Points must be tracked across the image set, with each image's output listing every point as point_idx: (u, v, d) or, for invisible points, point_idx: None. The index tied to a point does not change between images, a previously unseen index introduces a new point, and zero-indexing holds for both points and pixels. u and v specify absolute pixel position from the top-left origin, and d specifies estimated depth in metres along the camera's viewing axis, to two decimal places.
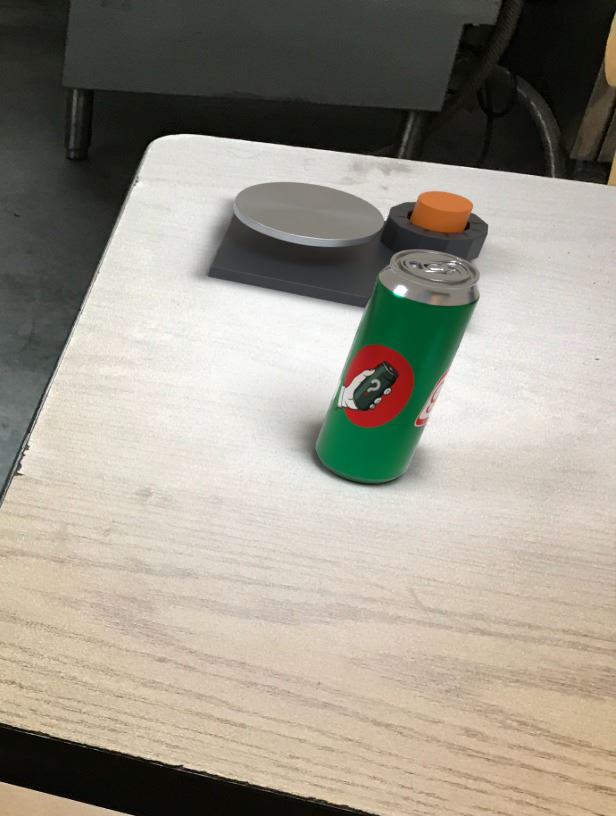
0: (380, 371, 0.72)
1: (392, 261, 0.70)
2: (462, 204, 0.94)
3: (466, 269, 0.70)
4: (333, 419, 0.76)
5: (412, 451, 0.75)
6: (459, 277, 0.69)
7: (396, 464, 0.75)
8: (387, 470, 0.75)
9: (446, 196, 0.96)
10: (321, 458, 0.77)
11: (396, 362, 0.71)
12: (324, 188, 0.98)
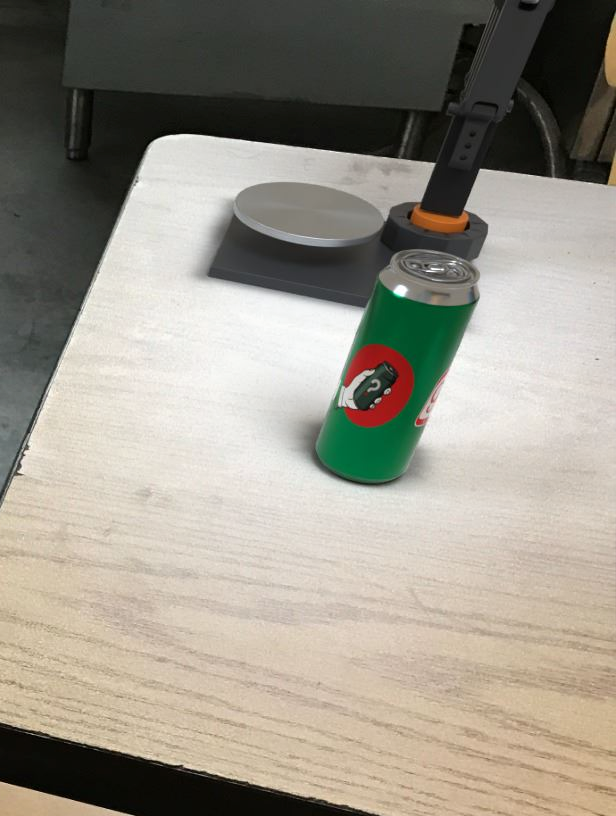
0: (380, 371, 0.72)
1: (392, 261, 0.70)
2: (457, 216, 0.95)
3: (467, 269, 0.70)
4: (333, 419, 0.76)
5: (412, 451, 0.75)
6: (459, 277, 0.69)
7: (396, 464, 0.75)
8: (387, 470, 0.75)
9: None
10: (321, 458, 0.77)
11: (396, 362, 0.71)
12: (324, 188, 0.98)
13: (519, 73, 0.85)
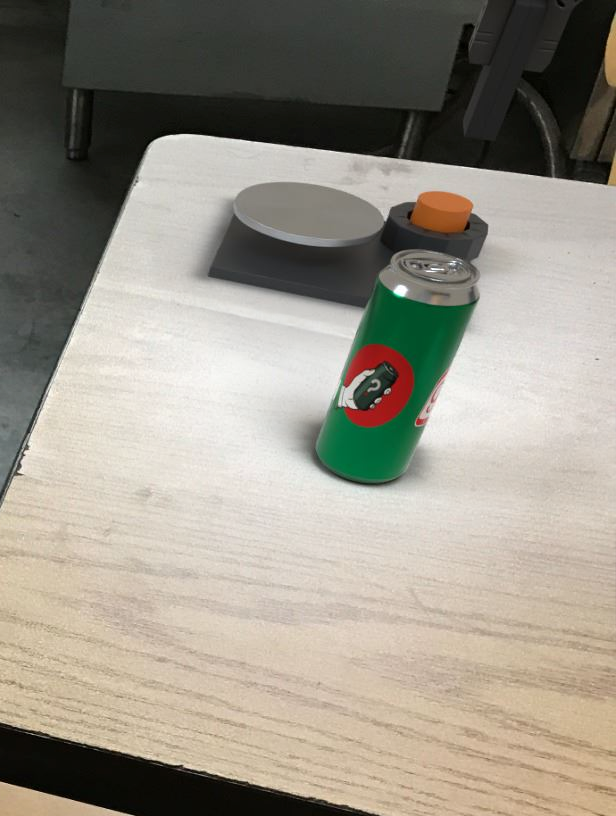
0: (380, 371, 0.72)
1: (392, 261, 0.70)
2: (462, 204, 0.94)
3: (467, 269, 0.70)
4: (333, 419, 0.76)
5: (412, 451, 0.75)
6: (459, 277, 0.69)
7: (396, 464, 0.75)
8: (387, 470, 0.75)
9: (446, 196, 0.96)
10: (321, 458, 0.77)
11: (397, 361, 0.71)
12: (324, 188, 0.98)
13: None
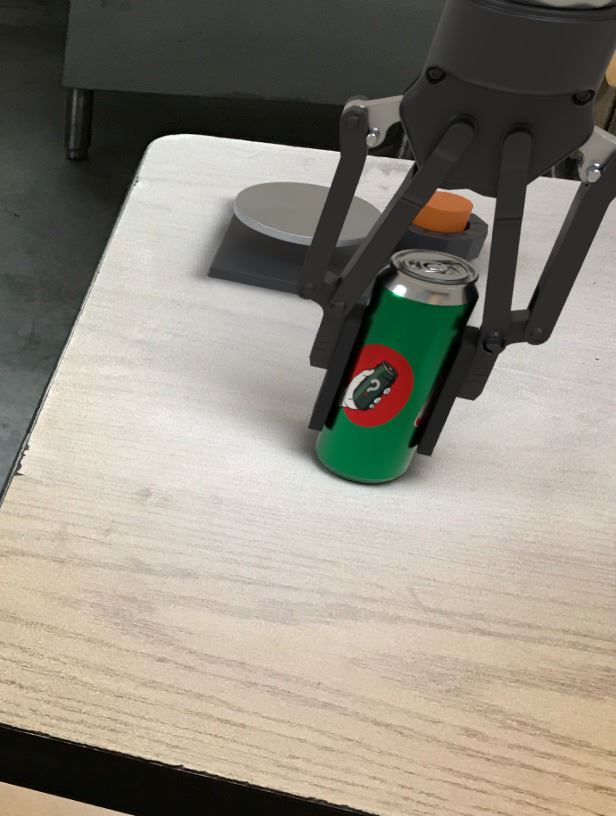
0: (380, 371, 0.72)
1: (391, 261, 0.70)
2: (462, 204, 0.94)
3: (466, 269, 0.70)
4: (332, 419, 0.76)
5: (412, 451, 0.75)
6: (458, 277, 0.69)
7: (396, 464, 0.75)
8: (387, 470, 0.75)
9: (446, 196, 0.96)
10: (321, 458, 0.77)
11: (396, 361, 0.71)
12: (324, 188, 0.98)
13: (314, 233, 0.71)
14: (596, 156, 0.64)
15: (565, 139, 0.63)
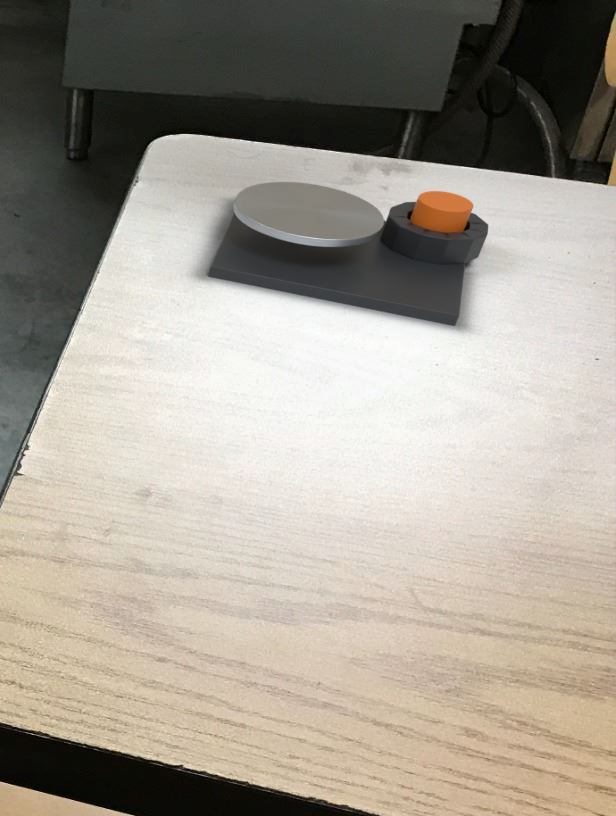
0: None
1: None
2: (462, 204, 0.94)
3: None
4: None
5: None
6: None
7: None
8: None
9: (446, 196, 0.96)
10: None
11: None
12: (324, 188, 0.98)
13: None
14: None
15: None
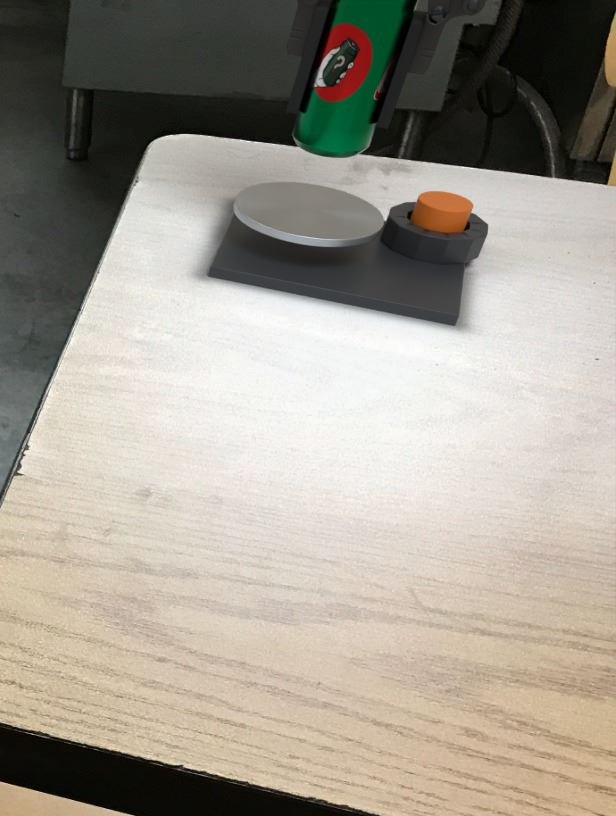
0: (344, 47, 0.86)
1: None
2: (462, 204, 0.94)
3: None
4: (306, 101, 0.90)
5: (372, 126, 0.90)
6: None
7: (359, 137, 0.90)
8: (351, 142, 0.90)
9: (446, 196, 0.96)
10: (297, 139, 0.92)
11: (357, 37, 0.86)
12: (324, 188, 0.98)
13: None
14: None
15: None
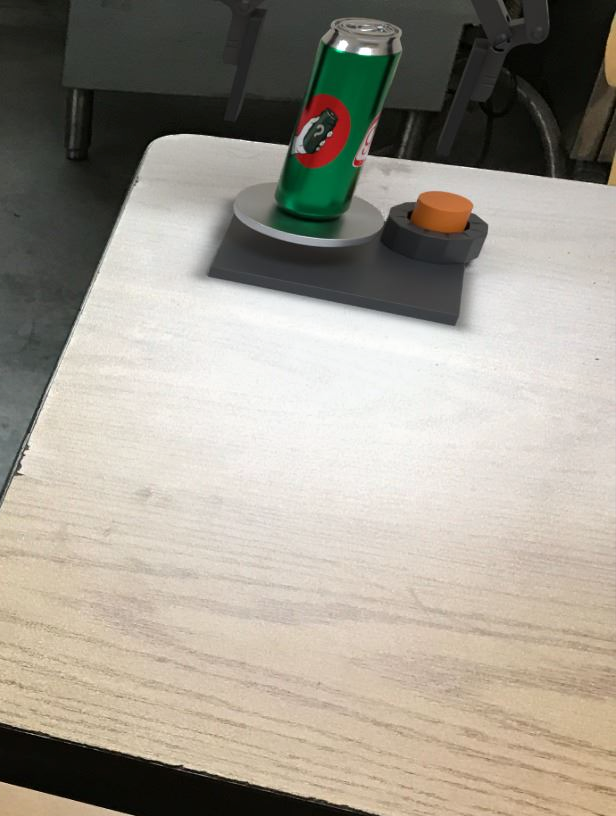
0: (323, 117, 0.89)
1: (332, 24, 0.88)
2: (462, 204, 0.94)
3: (391, 29, 0.87)
4: (287, 166, 0.93)
5: (352, 191, 0.92)
6: (385, 33, 0.86)
7: (338, 202, 0.92)
8: (331, 207, 0.93)
9: (446, 196, 0.96)
10: (278, 202, 0.94)
11: (336, 107, 0.89)
12: None
13: None
14: None
15: None
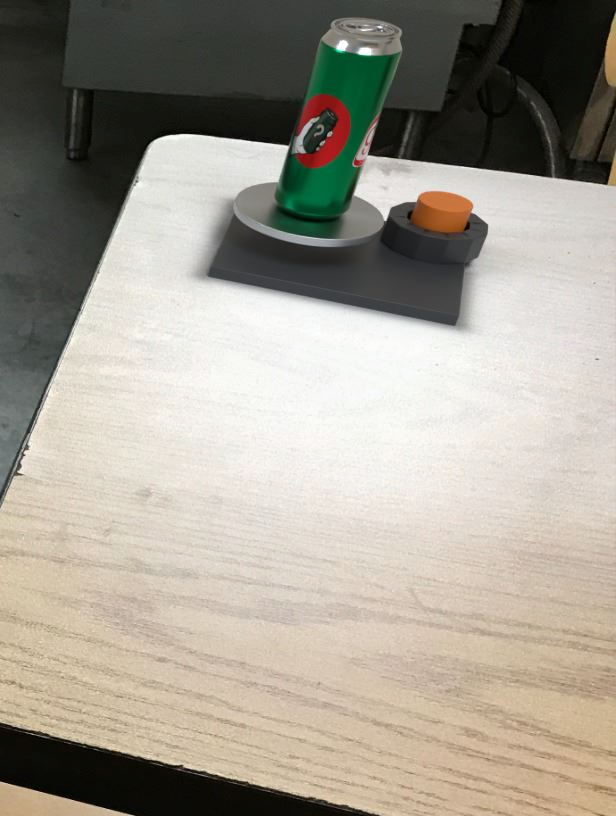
0: (323, 117, 0.89)
1: (332, 24, 0.88)
2: (462, 204, 0.94)
3: (391, 29, 0.87)
4: (287, 166, 0.93)
5: (352, 191, 0.92)
6: (385, 33, 0.86)
7: (338, 202, 0.92)
8: (331, 207, 0.93)
9: (446, 196, 0.96)
10: (278, 202, 0.94)
11: (336, 107, 0.89)
12: None
13: None
14: None
15: None
